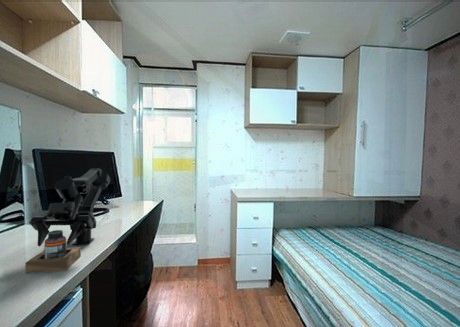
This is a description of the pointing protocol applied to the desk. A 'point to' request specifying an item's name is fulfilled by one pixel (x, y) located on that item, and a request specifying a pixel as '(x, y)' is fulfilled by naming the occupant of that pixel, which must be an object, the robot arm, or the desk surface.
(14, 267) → the desk surface
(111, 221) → the desk surface
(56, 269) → the walnut pocket block
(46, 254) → the supplement bottle
